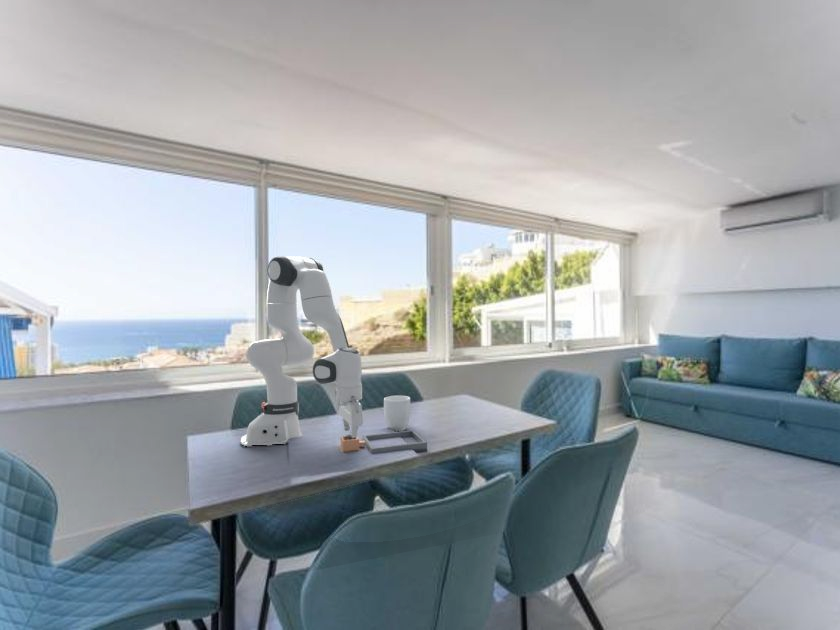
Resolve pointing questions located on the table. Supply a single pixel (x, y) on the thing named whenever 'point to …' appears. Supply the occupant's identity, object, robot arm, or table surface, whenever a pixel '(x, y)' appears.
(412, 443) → the tray
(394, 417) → the mug
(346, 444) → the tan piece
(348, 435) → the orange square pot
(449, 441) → the table surface
